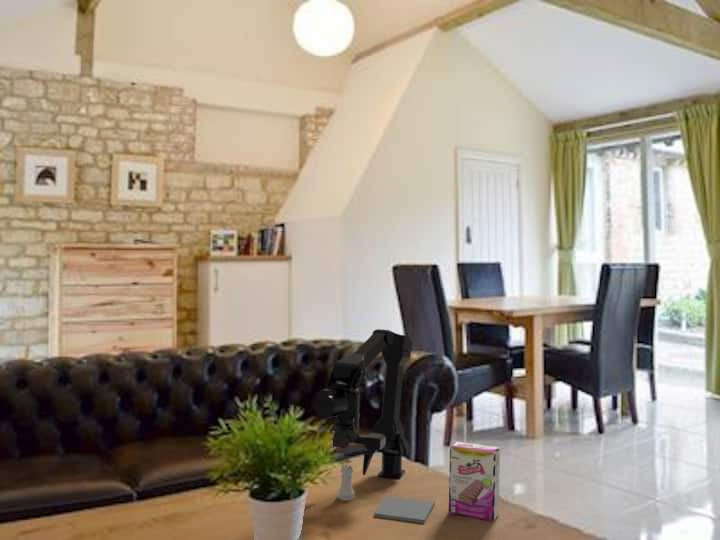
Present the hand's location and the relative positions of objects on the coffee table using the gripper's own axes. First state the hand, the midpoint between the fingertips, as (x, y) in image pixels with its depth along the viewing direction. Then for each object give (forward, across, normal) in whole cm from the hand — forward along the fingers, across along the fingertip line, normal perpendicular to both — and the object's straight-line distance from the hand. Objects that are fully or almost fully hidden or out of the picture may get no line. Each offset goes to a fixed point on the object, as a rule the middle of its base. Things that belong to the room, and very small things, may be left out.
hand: (347, 472), depth 159 cm
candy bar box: (+7, +32, 0) cm, 33 cm away
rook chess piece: (+7, 0, 0) cm, 7 cm away
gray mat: (+6, +16, -3) cm, 18 cm away
